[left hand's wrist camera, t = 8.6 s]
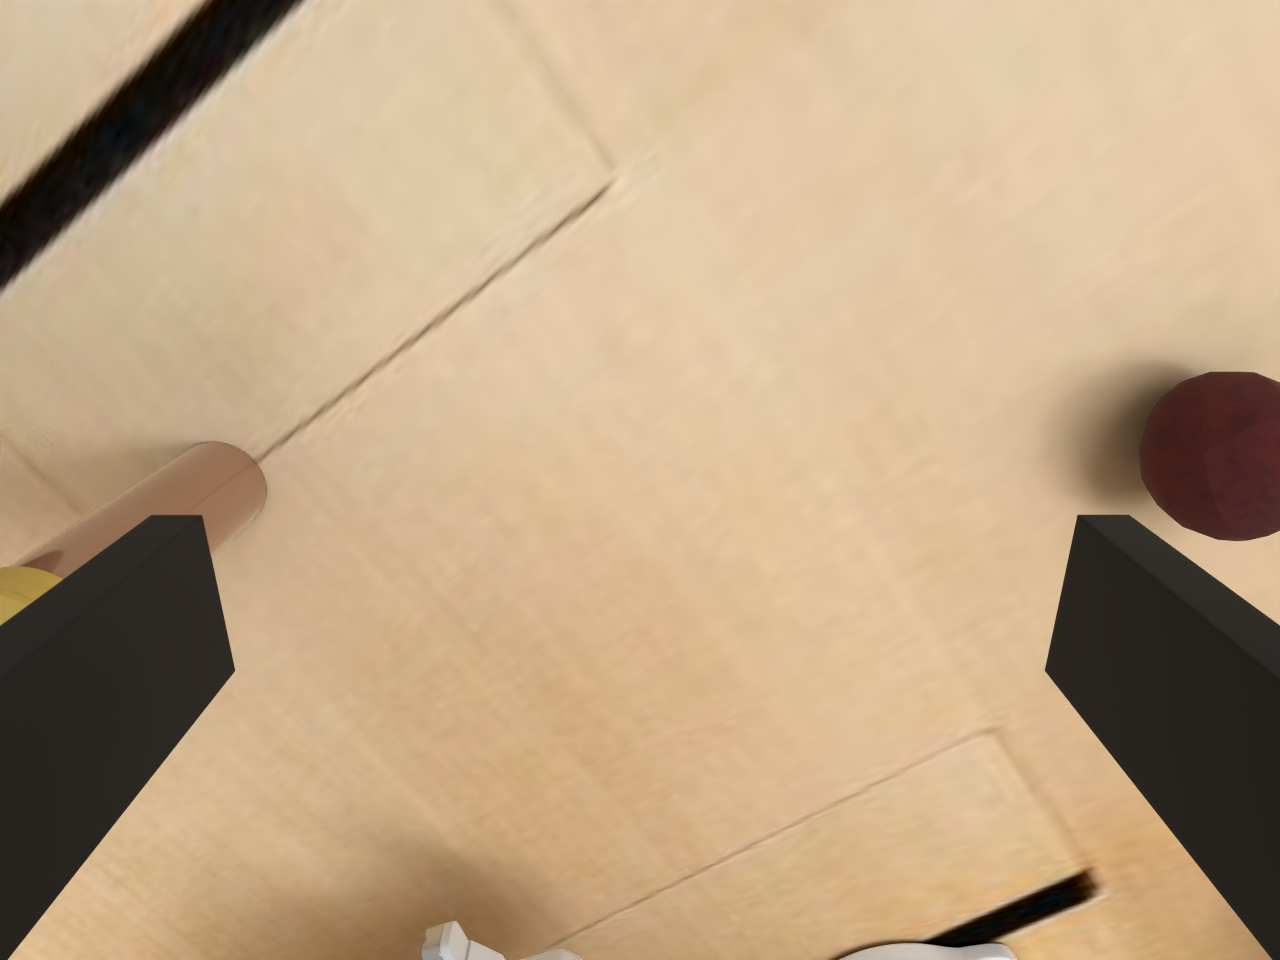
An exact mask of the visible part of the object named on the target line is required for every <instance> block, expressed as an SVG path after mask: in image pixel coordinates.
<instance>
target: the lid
mask: <svg viewBox="0 0 1280 960" xmlns="http://www.w3.org/2000/svg"><path fill="white" fill-rule="evenodd" d="M62 580H63V579H62V578H60V577H58V576H56V575H54V574H52V573H49V572H46V571H43V570H39V569H35V568H29V567H16V566H12V567H3V568H0V625H2V624H3V623H4V622H6V621H7V620H9V619H10V618H11V617H13V616H14V615H15V614H17V613H18V612H19V611H21V610H22V609H24V608H25V607H26V606H28V605H29V604H30V603H32V602H33V601H34V600H36V599H37V598H39V597H40V596H41V595H43V594H44V593H45V592H47V591H48V590H49V589H51V588H52V587H54V586H55V585H56V584H58V583H59V582H60V581H62Z"/></svg>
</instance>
